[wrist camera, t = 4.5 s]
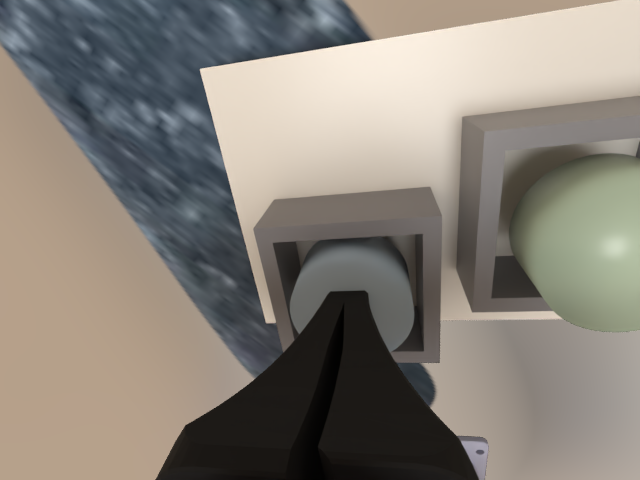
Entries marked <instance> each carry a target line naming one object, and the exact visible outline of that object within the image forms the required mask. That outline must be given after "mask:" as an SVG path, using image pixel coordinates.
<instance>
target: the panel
mask: <svg viewBox="0 0 640 480" xmlns="http://www.w3.org/2000/svg"><path fill="white" fill-rule="evenodd" d="M200 72H201V76H202V80H203V83H204V87H205V91H206V95H207V99H208V103H209V106H210V110H211V114H212V118H213V122H214V126H215V129H216V133H217V137H218V141H219V145H220V148H221V152H222V156H223V160H224V164H225V168H226V171H227V175H228V179H229V183H230V187H231V191H232V194H233V198H234V202H235V206H236V210H237V213H238V217H239V221H240V225H241V229H242V233H243V236H244V240H245V244H246V248H247V252H248V256H249V259H250V263H251V267H252V271H253V275H254V279H255V282H256V286H257V290H258V294H259V298H260V301H261V305H262V309H263V313H264V317H265V321H266V323H276V324H277V328H278V332H279V337H280V341H281V345H282V349H283V353H284V351H285V350H286V349H287V348H288V347H289V346H290V345H291V344H292V342H293V341H294V340H295V339H296V338H297V336H298V335H299V333H298V331H297V330H296V328H295V326H294V324H293V322H292V319H291V315H290V300H291V296H292V293H293V290H294V288H295V285H296V282H297V279H298V276H299V274H300V271H301V268H302V265H303V262H304V260H305V257H306V255H307V253H308V251H309V250H310V249H311V248H312V246H313V245H314V244H315V243H316V242H318V241H319V240H328V239H344V238H361V237H378V236H381V237H383V238H385V239H386V240H388V241H389V242H391V243H392V244H393V245H394V246H395V247H396V248H397V249H398V250H399V251H400V252H401V254H402V256H403V257H404V259H405V261H406V264H407V267H408V272H409V279H410V286H411V292H412V299H413V306H414V322H413V327H412V329H411V331H410V333H409V335H408V337H407V338H406V339H405V341H404V342H403V343H402V344H401V345H400V346H399V347H397V348H396V349H395V350H393V351H392V352H390V354H391V355H392V357H393V359H394V360H395V362H397V363H439V362H440V321H450V320H451V321H454V320H455V321H456V320H522V319H523V320H524V319H526V320H531V319H563V318H561V317H560V316H558V315H557V314H556V313H555V312H554V311H553V310H552V309H551V308H550V307H549V305H548V304H547V303H546V301H545V300H544V298H543V297H542V296H541V294H540V293H539V291H538V290H537V288H536V287H535V285H534V284H533V283H532V281H531V280H530V278H529V277H528V275H527V274H526V273H525V271H524V270H523V268H522V267H521V265H520V264H519V262H518V261H517V260H516V258H515V256H514V254H513V252H512V250H511V246H510V242H509V227H510V221H511V218H512V215H513V212H514V210H515V208H516V206H517V204H518V203H519V201H520V200H521V198H522V197H523V195H524V194H525V193H526V192H527V191H528V189H529V188H530V187H531V186H532V185H533V184H534V183H535V182H537V181H538V180H539V179H540V178H542V177H543V176H544V175H545V174H547V173H548V172H550V171H552V170H553V169H555V168H556V167H559V166H561V165H563V164H565V163H567V162H569V161H572V160H575V159H577V158H581V157H585V156H589V155H595V154H602V153H617V154H626V155H630V156H634V157H637V158H640V0H617V1H611V2H605V3H599V4H593V5H587V6H581V7H575V8H569V9H563V10H556V11H550V12H545V13H538V14H532V15H526V16H520V17H514V18H508V19H502V20H496V21H490V22H483V23H477V24H472V25H465V26H459V27H453V28H447V29H441V30H434V31H428V32H423V33H417V34H410V35H405V36H398V37H392V38H386V39H380V40H374V41H367V42H361V43H355V44H349V45H343V46H337V47H331V48H325V49H319V50H313V51H307V52H300V53H294V54H288V55H282V56H276V57H270V58H264V59H258V60H252V61H246V62H240V63H233V64H227V65H221V66H215V67H209V68H203V69H200Z"/></svg>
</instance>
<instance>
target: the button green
mask: <svg viewBox="0 0 640 480" xmlns="http://www.w3.org/2000/svg"><path fill="white" fill-rule="evenodd" d="M509 242H510V246H511V250H512V252H513V254H514V256H515V258H516V260H517V261H518V262H519V264H520V265H521V267H522V268H523V270H524V271H525V273H526V274H527V275H528V277H529V278H530V280H531V281H532V283H533V284H534V285H535V287H536V288H537V290H538V291H539V293H540V294H541V296H542V297H543V298H544V300H545V301H546V303H547V304H548V305H549V307H550V308H551V309H552V310H553V311H554V312H555V313H556V314H557V315H558V316H560V317H561V318H563V319H564V320H566V321H568V322H570V323H571V324H574V325H576V326H579V327H582V328H585V329H590V330H594V331H602V332H628V331H636V330H640V158H637V157H634V156H630V155H626V154H617V153H602V154H595V155H589V156H585V157H581V158H577V159H575V160H572V161H569V162H567V163H565V164H563V165H561V166H559V167H556V168H555V169H553V170H552V171H550V172H548V173H547V174H545V175H544V176H543V177H542V178H540V179H539V180H538V181H537V182H535V183H534V184H533V185H532V186H531V187H530V188H529V189H528V191H527V192H526V193H525V194H524V195H523V197H522V198H521V200H520V201H519V203H518V204H517V206H516V208H515V210H514V212H513V215H512V218H511V221H510V227H509Z"/></svg>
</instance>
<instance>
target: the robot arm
mask: <svg viewBox="0 0 640 480" xmlns="http://www.w3.org/2000/svg"><path fill="white" fill-rule="evenodd" d="M488 449H489V446H488V442H487V440H486V439H485V438H483V437H471V436H456V435H455V434H454V433H453V432H452V431H451V430H450V429H449V428H448V427H447V426H446V425H445V424H444V423H443V422H442V421H441V420H440V419H439V417H438V416H437V415H436V414H435V413H434V412H433V411H432V410H431V409H430V407H429V406H428V405H427V404H426V403H425V402H424V400H423V399H422V398H421V397H420V395H419V394H418V393H417V391H416V390H415V389H414V388H413V386H412V385H411V384H410V383H409V381H408V380H407V378H406V377H405V376H404V374H403V373H402V371H401V370H400V368H399V367H398V365H397V364H396V362H395V360H394V359H393V357H392V355H391V354H390V352H389V350H388V348H387V346H386V344H385V342H384V341H383V339H382V337H381V334H380V332H379V330H378V328H377V325H376V323H375V320H374V318H373V315H372V312H371V309H370V305H369V296H368V292H366V291H365V290H360V291H330V292H329V293H328V294H327V296H326V298H325V299H324V301H323V302H322V304H321V305H320V307H319V308H318V310H317V311H316V313H315V314H314V316H313V317H312V318H311V320H310V321H309V322H308V324H307V325H306V327H305V328H304V329H303V330H302V332H301V333H300V334H299V335H298V336H297V338H296V339H295V340H294V341H293V342H292V344H291V345H290V346H289V347H288V348H287V349H286V350H285V351H284V353H283V354H282V355H281V356H280V357H279V358H278V359H277V360H276V361H275V362H274V363H273V364H272V365H271V366H269V367H268V368H267V369H266V370H265V371H264V372H263V373H262V374H260V375H259V376H258V377H257V378H256V379H254V380H253V381H252V382H251V383H250V384H249V385H247V386H246V387H245V388H243V389H242V390H240V391H239V392H238V393H236V394H235V395H234V396H232V397H231V398H229V399H228V400H226V401H225V402H223V403H222V404H220V405H219V406H217V407H216V408H214V409H212V410H211V411H209V412H208V413H206V414H204V415H203V416H201V417H199V418H198V419H196V420H194V421H193V422H191V423H189V424H187V425H186V426H185V427H184V429H183V430H182V432H181V434H180V435H179V437H178V438H177V440H176V442H175V444H174V446H173V447H172V449H171V451H170V453H169V455H168V457H167V459H166V461H165V463H164V465H163V467H162V469H161V471H160V472H159V474H158V477H157V478H156V480H485V474H486V464H487V457H488Z"/></svg>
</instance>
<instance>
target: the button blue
mask: <svg viewBox="0 0 640 480" xmlns="http://www.w3.org/2000/svg"><path fill="white" fill-rule="evenodd" d="M360 290H365V291H366V292H368V296H369V305H370V309H371V312H372V315H373V318H374V320H375V323H376V325H377V328H378V330H379V332H380V334H381V337H382V339H383V341H384V342H385V344H386V346H387V348H388V350H389V352H392V351H393V350H395V349H396V348H397V347H399V346H400V345H401V344H402V343H403V342H404V341H405V339H406V338H407V337H408V335H409V333H410V331H411V329H412V327H413V322H414V306H413V299H412V292H411V286H410V279H409V272H408V267H407V264H406V261H405V259H404V257H403V256H402V254H401V252H400V251H399V250H398V249H397V248H396V247H395V246H394V245H393V244H392V243H391V242H389V241H388V240H386V239H385V238H383V237H381V236H378V237H361V238H344V239H328V240H319V241H318V242H316V243H315V244H314V245H313V246H312V248H311V249H310V250H309V251H308V253H307V255H306V257H305V260H304V262H303V265H302V268H301V271H300V274H299V276H298V279H297V282H296V285H295V288H294V290H293V293H292V296H291V300H290V315H291V319H292V322H293V324H294V326H295V328H296V330H297V331H298V333H299V334H300V333H301V332H302V330H303V329H304V328H305V327H306V325H307V324H308V322H309V321H310V320H311V318H312V317H313V316H314V314H315V313H316V311H317V310H318V308H319V307H320V305H321V304H322V302H323V301H324V299H325V298H326V296H327V294H328V293H329V292H330V291H360Z"/></svg>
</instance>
